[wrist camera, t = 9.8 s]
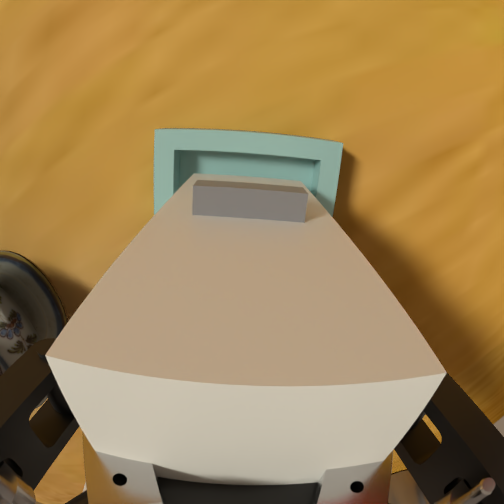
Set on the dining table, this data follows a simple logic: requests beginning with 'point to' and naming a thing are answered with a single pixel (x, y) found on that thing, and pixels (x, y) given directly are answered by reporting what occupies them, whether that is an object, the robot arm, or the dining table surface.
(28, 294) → the apothecary jar
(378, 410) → the cream upright block
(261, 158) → the tray
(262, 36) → the dining table surface
